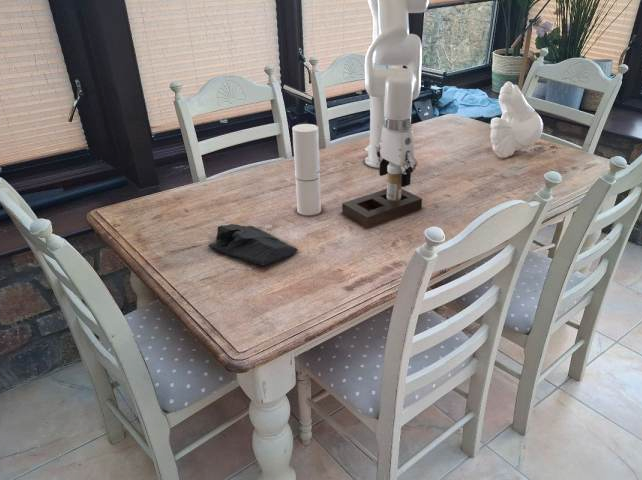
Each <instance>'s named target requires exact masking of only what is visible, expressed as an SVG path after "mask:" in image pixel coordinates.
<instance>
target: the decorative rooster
mask: <svg viewBox="0 0 642 480" xmlns="http://www.w3.org/2000/svg"><path fill="white" fill-rule="evenodd" d="M498 104H499V108H500V110H501V113H502V114H501V116H500V117H497V116H496V117H493V118H491V120H490V126H489V127H490V129H491V130H490V136H489V137H490V143H491V144H492V151H493V152H494V154H496V156H498V157H499V158H502V159H506V158H508V157H511V156H513V155H514V153H515V152H517V151H522V150H527V149H530V148H531V147H533V146H534V144H536V143H538V142H539V140H540V139H541V136H542V134H543V129H544V123H543V119H542V117H541V116H540V114H539V113H538V112H536V110H535V109H534V107H532V106H531V105H530V104H529V102H527V100H526V98H525V96H524V94H523V93H522V91H521V89H520V87H519V86H518V85H517V84H513V82H511V81H509V80H508V81H506V82H505V83H504V84H503V86H502V87H501V88H500V90H499V95H498Z"/></svg>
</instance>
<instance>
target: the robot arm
mask: <svg viewBox="0 0 642 480" xmlns="http://www.w3.org/2000/svg"><path fill="white" fill-rule="evenodd" d="M367 3H368V6H369V9H370V12H371V17H372V43H371V44H370V46H369V47H368V49H367V51H366V54H365V59H364V83H365V84H364V86H365V91H366V93H367V95H368V96H369V113H370V114H369V117H370V118H369V119H370V120H369V144H368V145H367V147H365V148H364V151H365V152H366V153H367V156H366V157H365V158H364V163H365V164H366V165H367V166H369V167H372V168H375V169H379V171H378V172H379V173H378V175H379V176H380V177H383V176H386V175H388V172H387V166H388V165H389V164H391V163H394V164H396V165H398V166H400V167H401V169H402V174H401V188H404V187H407V186H410V185H411V177H412V176H411V175H412V173H413V172H414V171H415V170H416V167H417V166H418V164H419V162H418V160H417V159H416V157H415V155H414V153H415V150H414V149H415V147H414V146H415V145H414V144H415V143H414V142H415V141H414V134H413V133H414V132H413V129H411V128H412V127H413V126H412V125H413V124H412V110H413V109H412V108H413V101H414V100H416V99H418V98H419V96H420V92H421V86H422V84H421V83H422V61H423V46H422V41H421V40H422V39H421V38H420V36H419V35H417V34H415V33H410V23H409V14H422V13H424V12H426V10H427V9H428V6H429V0H367ZM375 64H376V65H378V66H383V67H384V68H375ZM385 66H389V68H388V67H387V68H385ZM392 66H395V67H396V66H397V67H399V66H401V68H400V67H399V68H395V67H393V68H392ZM402 66H405V67H406V68H402Z"/></svg>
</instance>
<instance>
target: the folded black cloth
mask: <svg viewBox="0 0 642 480" xmlns="http://www.w3.org/2000/svg"><path fill="white" fill-rule="evenodd" d="M216 229H217V231H216V232H217V233H216V237H215V241H212V242H211V243H210V244H208V248H211V250H216V251H218V252H220V253H223V255H227V256H230V257H235V258H238V259H240V260H243V261H245V262H246V261H247V262H249V263H251V264H255V265H256V266H259V265H261V266H267V265H269V264H272V263H274V262H276V261H279V260H282V259H285V258H287V257H290V256H293V255H294V254H295V253H296V252H297V251H299V249H298V248H297V247H294V246H292V245H289V244H287V243H286V242H284V241H282V240H280V239H278V238H277V237H275V236H273V235H272V234H270V233H269V232H266V231H264V230H261V229H260V228H258V227H255V226H254V225H240V224H235V223H230V224H225V225H218V226H217V228H216Z"/></svg>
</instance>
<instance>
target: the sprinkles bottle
mask: <svg viewBox="0 0 642 480" xmlns="http://www.w3.org/2000/svg"><path fill="white" fill-rule="evenodd" d="M387 172H388V174H387V178H386V189H387V200H388V201H390V202H392V203H394V202H397V201H400V200H401V189H402V187H401V174H403V172H402V169H401V167H400V166H398V165H396V164H394V163H391V164H389V165H388V166H387Z"/></svg>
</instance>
